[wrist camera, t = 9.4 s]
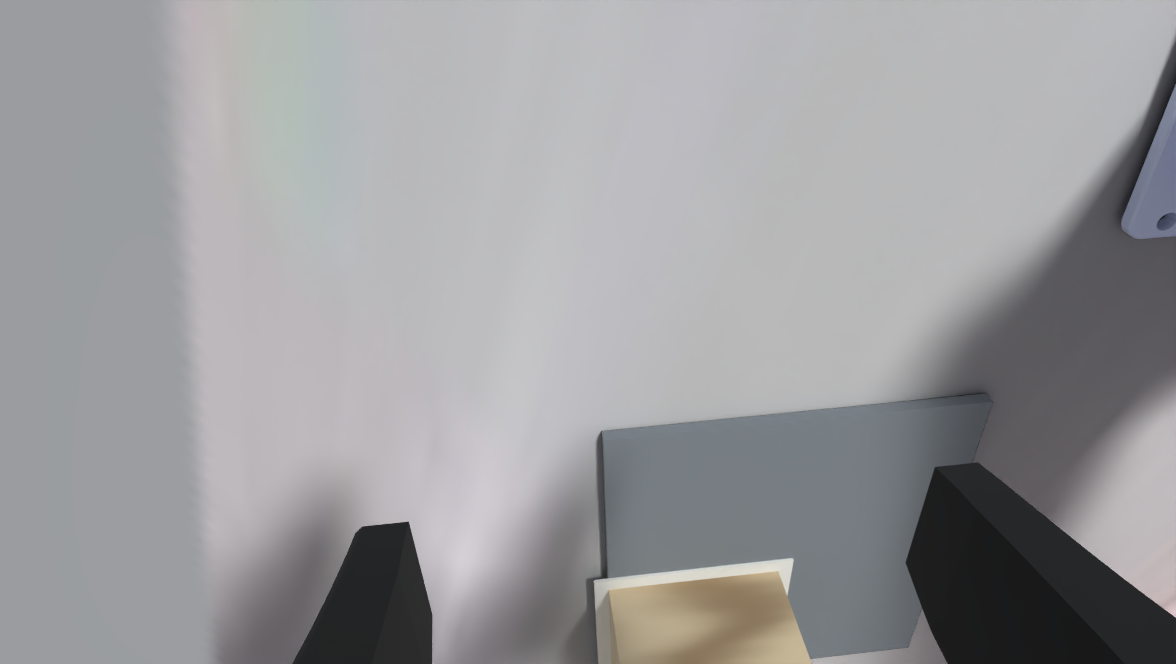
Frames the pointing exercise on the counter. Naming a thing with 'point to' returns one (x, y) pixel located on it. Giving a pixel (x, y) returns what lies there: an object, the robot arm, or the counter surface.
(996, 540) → the robot arm
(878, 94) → the counter surface
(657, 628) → the oak base
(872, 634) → the slate mat
